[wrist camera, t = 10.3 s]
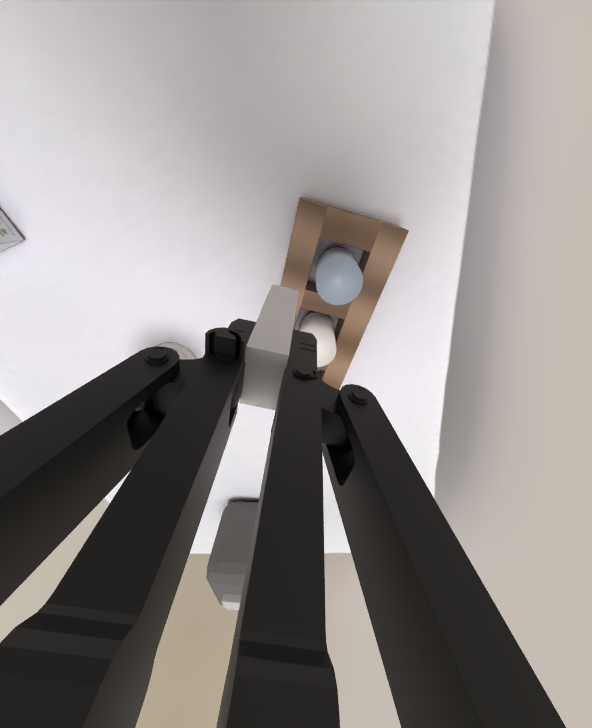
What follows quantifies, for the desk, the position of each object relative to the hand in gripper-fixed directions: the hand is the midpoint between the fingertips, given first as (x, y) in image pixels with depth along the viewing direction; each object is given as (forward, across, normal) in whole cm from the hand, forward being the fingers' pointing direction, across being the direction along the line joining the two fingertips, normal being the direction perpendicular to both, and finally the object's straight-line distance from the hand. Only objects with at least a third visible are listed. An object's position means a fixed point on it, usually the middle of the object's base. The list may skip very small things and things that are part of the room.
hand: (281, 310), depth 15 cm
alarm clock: (+15, +4, -52) cm, 55 cm away
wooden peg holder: (+15, +4, -8) cm, 17 cm away
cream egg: (+14, +4, -7) cm, 16 cm away
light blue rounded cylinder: (+14, +4, 0) cm, 14 cm away
